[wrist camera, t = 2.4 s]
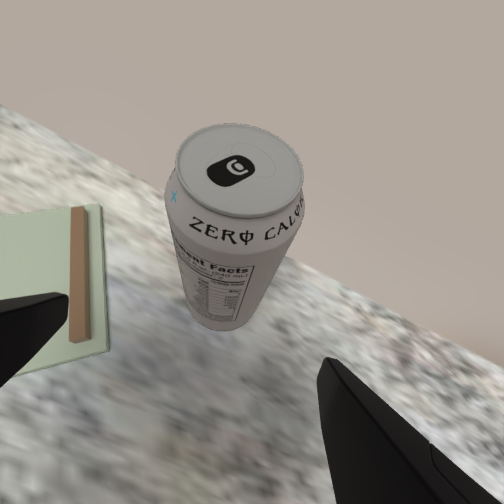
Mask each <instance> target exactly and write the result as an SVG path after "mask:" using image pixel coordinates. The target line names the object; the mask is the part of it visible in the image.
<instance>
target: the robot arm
mask: <svg viewBox="0 0 504 504" xmlns="http://www.w3.org/2000/svg"><path fill="white" fill-rule="evenodd" d="M68 308H69V297H68V295H66V294H63V293H59V292H50V293H43V294H36V295H29V296H23V297H16V298H9V299H2V300H0V388H1V387H2V386H3V385H4V384H5V383H6V382H7V381H8V380H9V379H11V378H12V377H13V376H14V375H15V374H16V373H17V372H18V371H19V370H21V369H22V368H23V367H24V366H25V365H26V364H27V363H28V362H29V361H30V360H31V359H32V358H33V357H34V356H35V355H36V354H37V353H38V352H39V351H40V350H41V348H42V347H43V346H44V345H45V344H46V343H47V342H48V341H49V340H50V339H51V338H52V337H53V336H54V334H55V333H56V332H57V331H58V330H59V329H60V328H61V327H62V326H63V325H64V324H65V322H66V320H67V318H68ZM317 391H318V401H319V411H320V421H321V429H322V434H323V440H324V445H325V450H326V454H327V459H328V464H329V469H330V474H331V479H332V484H333V489H334V494H335V499H336V504H502V503H501V502H499V501H498V500H497V499H496V498H494V497H493V496H492V495H491V494H490V493H488V492H487V491H486V490H485V489H484V488H483V487H481V486H480V485H479V484H478V483H477V482H475V481H474V480H473V479H472V478H471V477H469V476H468V475H467V474H466V473H465V472H463V471H462V470H461V469H460V468H459V467H458V466H457V465H455V464H454V463H453V462H452V461H451V460H450V459H449V458H447V457H446V456H445V455H444V454H443V453H442V452H441V451H440V450H438V449H437V448H436V447H435V446H434V445H433V444H430V443H429V441H428V440H427V439H426V438H425V437H424V436H423V435H422V434H420V433H419V432H418V431H417V430H416V429H415V428H414V427H413V426H411V425H410V424H409V423H408V422H407V421H406V420H405V419H404V418H403V417H401V416H400V415H399V414H398V413H397V412H396V411H395V410H394V409H392V408H391V407H390V406H389V405H388V404H387V403H386V402H385V401H383V400H382V399H381V398H380V397H379V396H378V395H377V394H376V393H375V392H373V391H372V390H371V389H370V388H369V387H368V386H367V385H366V384H364V383H363V382H362V381H361V380H360V379H359V378H358V377H357V376H355V375H354V374H353V373H352V372H351V371H350V370H349V369H348V368H347V367H345V366H344V365H343V364H342V363H341V362H340V361H339V360H337V359H334V358H330V357H326V358H325V359H324V360H323V363H322V365H321V368H320V371H319V373H318V376H317Z"/></svg>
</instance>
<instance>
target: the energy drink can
mask: <svg viewBox="0 0 504 504" xmlns="http://www.w3.org/2000/svg"><path fill="white" fill-rule="evenodd" d="M175 166H176V167H175V168H174V170H173V172H172V173H171V175H170V177H169V179H168V182H167V184H166V189H165V194H164V195H165V206H166V211H167V215H168V220H169V224H170V229H171V233H172V237H173V242H174V246H175V251H176V255H177V260H178V264H179V269H180V273H181V278H182V282H183V287H184V291H185V296H186V300H187V304H188V307H189V310H190V312H191V314H192V316H193V317H194V318H195V319H196V320H197V321H198V322H199V323H200V324H202V325H203V326H204V327H207V328H209V329H212V330H217V331H228V330H233V329H236V328H238V327H240V326H242V325H243V324H245V323H246V322H247V321H248V320H249V319H250V318H251V317H252V315H253V314H254V312H255V310H256V308H257V306H258V305H259V303H260V301H261V299H262V297H263V295H264V293H265V291H266V290H267V288H268V286H269V284H270V282H271V280H272V278H273V276H274V275H275V273H276V271H277V269H278V267H279V265H280V263H281V261H282V259H283V258H284V256H285V254H286V252H287V250H288V248H289V246H290V244H291V243H292V241H293V239H294V237H295V235H296V233H297V231H298V229H299V227H300V226H301V223H302V220H303V217H304V209H305V204H304V197H303V192H302V188H301V187H302V185H303V178H304V172H303V167H302V164H301V161H300V159H299V157H298V155H297V154H296V153H295V151H294V150H293V149H292V148H291V147H290V146H289V145H288V144H287V143H286V142H285V141H283V140H282V139H281V138H279V137H278V136H276V135H274V134H272V133H270V132H268V131H266V130H263V129H261V128H258V127H254V126H250V125H245V124H235V123H224V124H217V125H212V126H208V127H205V128H202V129H200V130H198V131H196V132H194V133H193V134H191V135H190V136H189V137H187V138H186V139H185V141H184V142H183V143H182V144H181V145H180V148H179V149H178V151H177V154H176V160H175Z"/></svg>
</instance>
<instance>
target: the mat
mask: <svg viewBox="0 0 504 504" xmlns="http://www.w3.org/2000/svg"><path fill="white" fill-rule="evenodd" d="M50 292H59V293H63V294H66V295H68V297H69V308H68V318H67V320H66V322H65V324H64V325H63V326H62V327H61V328H60V329H59V330H58V331H57V332H56V333H55V334H54V336H53V337H52V338H51V339H50V340H49V341H48V342H47V343H46V344H45V345H44V346H43V347H42V348H41V350H40V351H39V352H38V353H37V354H36V355H35V356H34V357H33V358H32V359H31V360H30V361H29V362H28V363H27V364H26V365H25V366H24V367H23V368H22V369H21V370H19V371H18V372H17V373H16V374H15V375H14V376H13V377H16V376H20V375H23V374H27V373H30V372H34V371H38V370H41V369H45V368H49V367H52V366H56V365H60V364H63V363H67V362H71V361H74V360H78V359H82V358H85V357H89V356H92V355H96V354H100V353H103V352H107V351H109V341H108V322H107V303H106V284H105V266H104V247H103V228H102V209H101V206H100V204H99V203H98V204H90V205H82V206H74V207H66V208H59V209H51V210H43V211H35V212H27V213H19V214H12V215H4V216H0V300H2V299H9V298H16V297H23V296H29V295H36V294H43V293H50Z"/></svg>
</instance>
